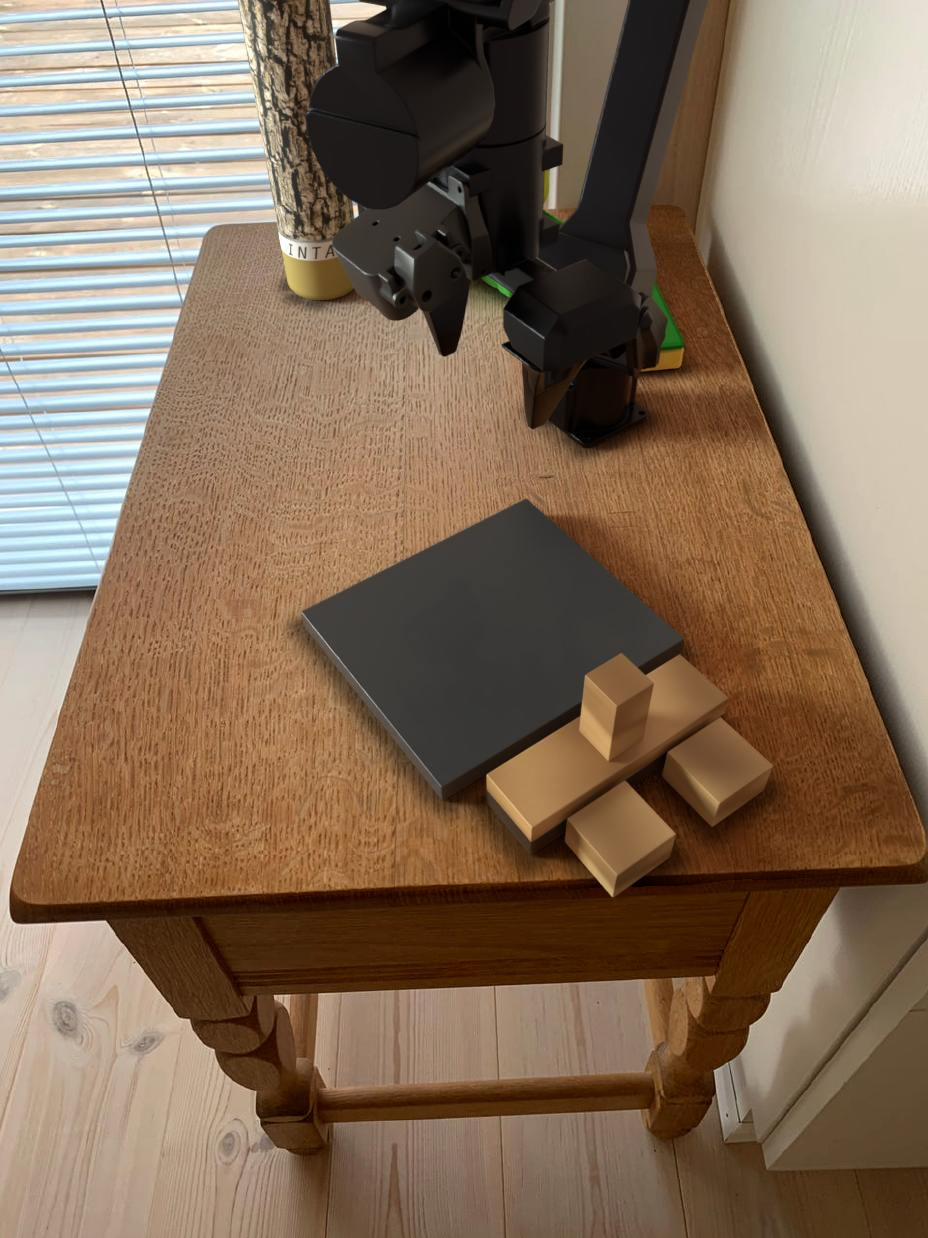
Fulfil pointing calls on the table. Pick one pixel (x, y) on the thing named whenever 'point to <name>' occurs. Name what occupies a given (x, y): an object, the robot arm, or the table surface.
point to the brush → (602, 745)
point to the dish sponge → (668, 338)
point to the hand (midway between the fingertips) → (490, 388)
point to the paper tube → (296, 137)
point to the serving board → (485, 642)
